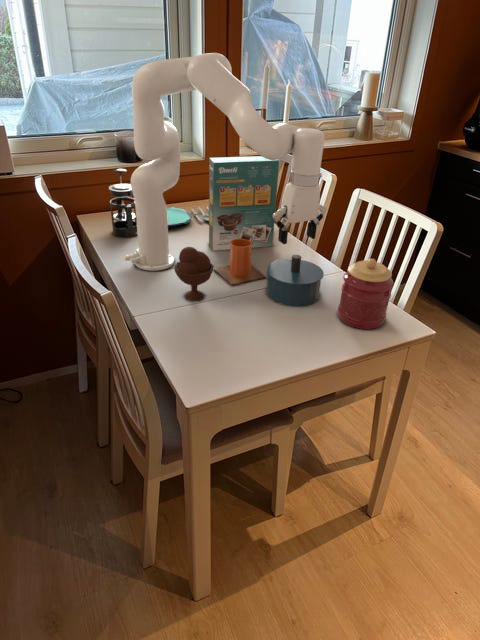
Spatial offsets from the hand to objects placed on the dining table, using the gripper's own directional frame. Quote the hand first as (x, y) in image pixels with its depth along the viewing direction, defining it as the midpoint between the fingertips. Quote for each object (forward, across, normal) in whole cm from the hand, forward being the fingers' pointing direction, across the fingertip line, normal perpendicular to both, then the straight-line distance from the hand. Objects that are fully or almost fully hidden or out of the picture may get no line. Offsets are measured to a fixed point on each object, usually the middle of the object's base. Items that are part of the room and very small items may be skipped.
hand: (296, 239), depth 141 cm
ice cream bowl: (+18, +26, -10) cm, 33 cm away
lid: (+10, 0, +1) cm, 10 cm away
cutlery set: (+18, +6, -69) cm, 72 cm away
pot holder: (+17, +8, -17) cm, 26 cm away
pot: (+17, 0, +1) cm, 17 cm away
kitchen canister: (+17, -10, +21) cm, 28 cm away
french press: (+19, +28, -64) cm, 73 cm away
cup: (+17, +7, -17) cm, 25 cm away
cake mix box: (+18, -4, -37) cm, 42 cm away
